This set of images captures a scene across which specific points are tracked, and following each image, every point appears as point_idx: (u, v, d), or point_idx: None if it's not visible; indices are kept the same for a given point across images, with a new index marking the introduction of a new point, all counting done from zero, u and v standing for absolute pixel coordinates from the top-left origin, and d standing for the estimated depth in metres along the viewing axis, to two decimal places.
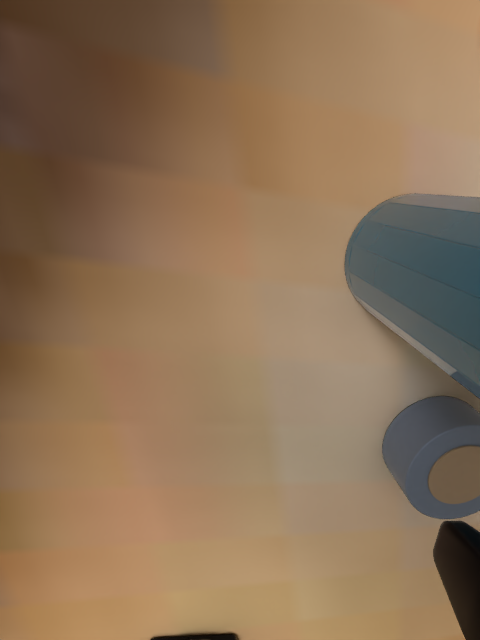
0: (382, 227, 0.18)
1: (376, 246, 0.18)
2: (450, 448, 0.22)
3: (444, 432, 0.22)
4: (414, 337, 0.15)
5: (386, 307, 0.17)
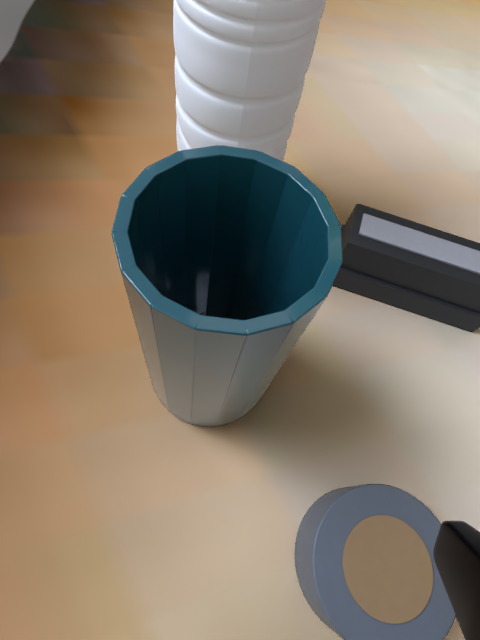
0: None
1: None
2: (346, 531, 0.18)
3: (325, 512, 0.18)
4: (161, 372, 0.16)
5: (157, 378, 0.18)
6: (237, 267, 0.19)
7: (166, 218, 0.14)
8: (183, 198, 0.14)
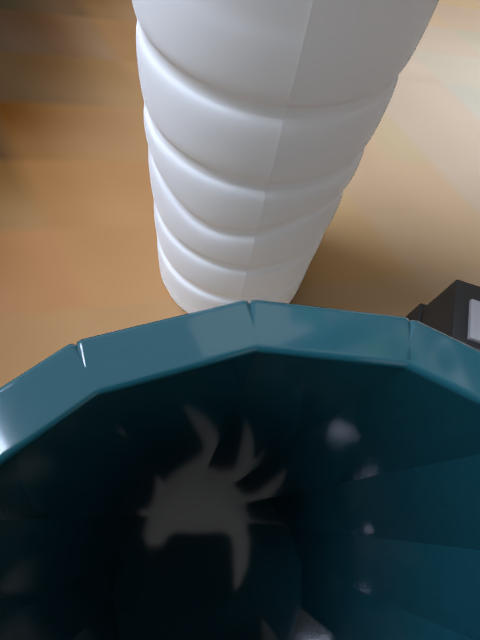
0: None
1: None
2: None
3: None
4: None
5: None
6: (268, 466, 0.09)
7: (65, 502, 0.04)
8: (117, 447, 0.04)
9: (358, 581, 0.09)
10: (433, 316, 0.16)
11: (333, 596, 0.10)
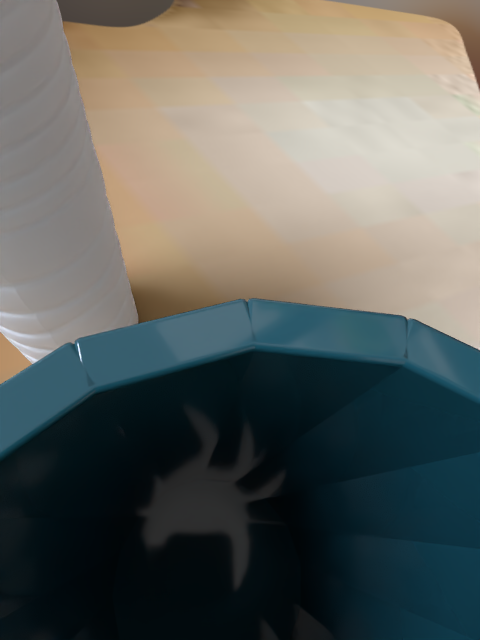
0: None
1: None
2: None
3: None
4: None
5: None
6: (268, 465, 0.09)
7: (63, 500, 0.04)
8: (115, 446, 0.04)
9: (357, 580, 0.09)
10: None
11: (332, 596, 0.10)
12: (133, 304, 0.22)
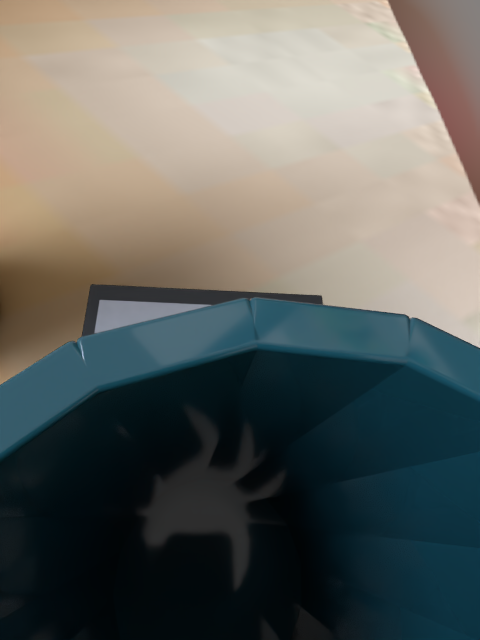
0: None
1: None
2: None
3: None
4: None
5: None
6: (269, 464, 0.09)
7: (65, 500, 0.04)
8: (116, 445, 0.04)
9: (358, 580, 0.09)
10: None
11: (333, 595, 0.10)
12: None
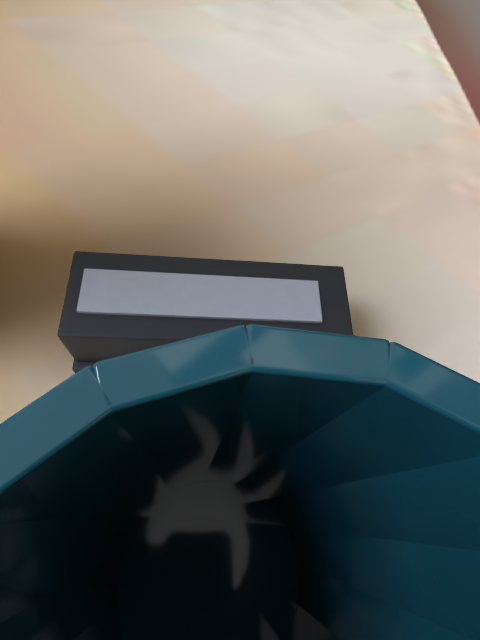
0: None
1: None
2: None
3: None
4: None
5: None
6: (266, 468, 0.09)
7: (77, 504, 0.05)
8: (125, 454, 0.04)
9: (352, 579, 0.09)
10: None
11: (328, 594, 0.10)
12: None
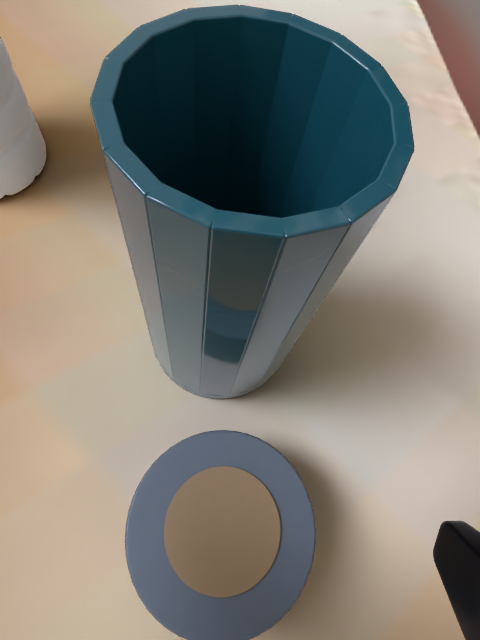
0: None
1: None
2: (165, 502, 0.14)
3: (137, 489, 0.14)
4: (163, 322, 0.12)
5: (158, 335, 0.14)
6: (255, 202, 0.15)
7: (168, 117, 0.11)
8: (189, 87, 0.11)
9: None
10: None
11: None
12: (32, 116, 0.22)
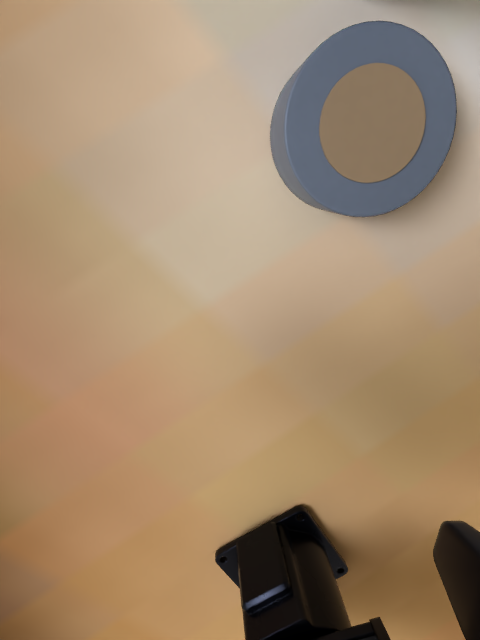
0: None
1: None
2: (322, 96, 0.14)
3: (295, 79, 0.14)
4: None
5: None
6: None
7: None
8: None
9: None
10: None
11: None
12: None
